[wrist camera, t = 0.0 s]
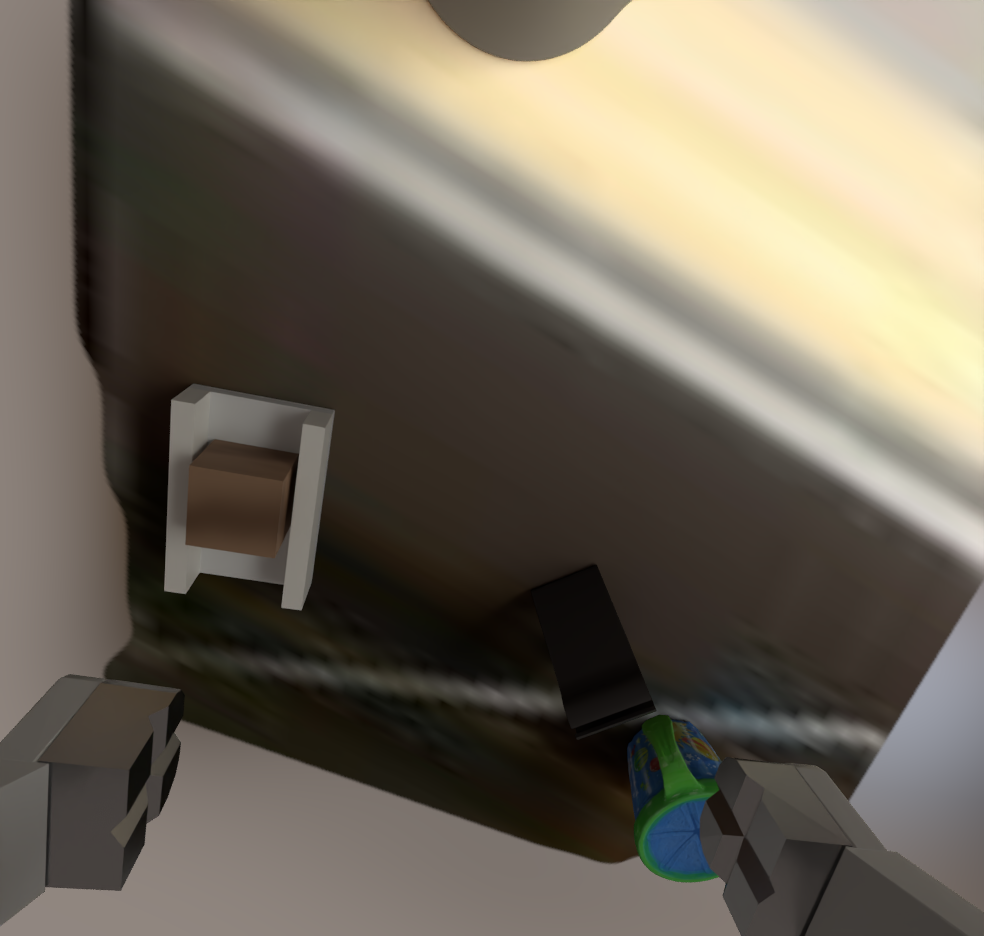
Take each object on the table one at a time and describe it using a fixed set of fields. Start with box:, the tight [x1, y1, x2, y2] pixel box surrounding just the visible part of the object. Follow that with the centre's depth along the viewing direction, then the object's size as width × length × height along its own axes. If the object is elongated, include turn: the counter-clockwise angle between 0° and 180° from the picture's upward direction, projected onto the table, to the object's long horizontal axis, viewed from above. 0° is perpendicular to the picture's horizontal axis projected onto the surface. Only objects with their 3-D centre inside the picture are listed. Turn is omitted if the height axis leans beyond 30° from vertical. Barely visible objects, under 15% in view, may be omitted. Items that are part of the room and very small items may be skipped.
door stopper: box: [531, 565, 656, 740], centre depth 50 cm, size 9×6×12 cm, turn 22°
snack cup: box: [627, 715, 722, 882], centre depth 58 cm, size 16×10×10 cm
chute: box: [164, 384, 335, 610], centre depth 48 cm, size 15×10×4 cm, turn 167°
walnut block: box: [185, 439, 299, 558], centre depth 46 cm, size 6×6×5 cm
